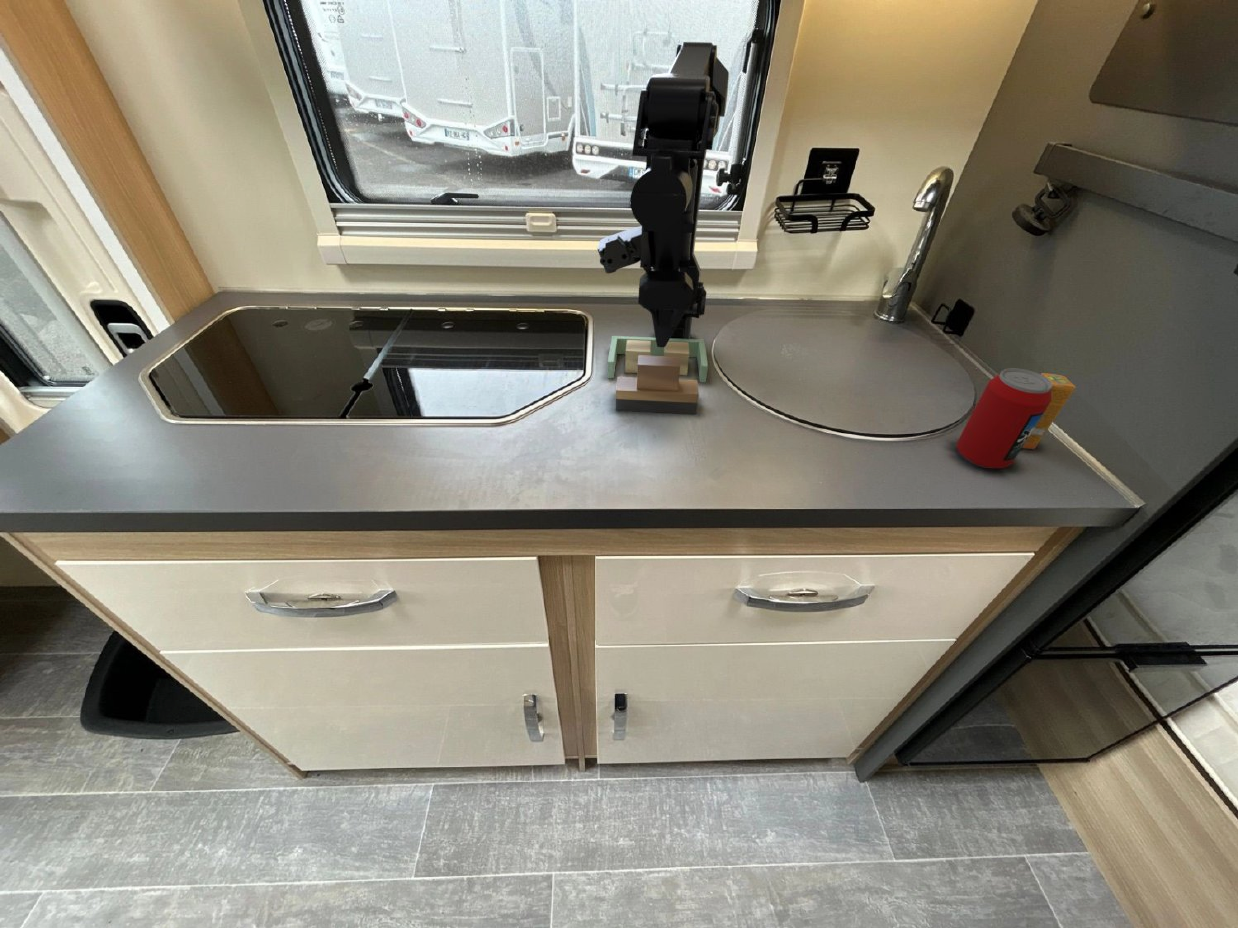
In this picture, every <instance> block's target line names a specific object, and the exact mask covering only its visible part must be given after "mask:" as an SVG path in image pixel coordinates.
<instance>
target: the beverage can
mask: <svg viewBox="0 0 1238 928" xmlns="http://www.w3.org/2000/svg"><path fill="white" fill-rule="evenodd" d="M1051 388H1052V383H1051V382H1050V381H1049V380H1048V379H1047V378H1046V377H1044V376H1042V375H1041V373H1038V372H1035V371H1032V370H1029V369H1025V368H1017V367H1016V368H1015V367H1010V368H1009V367H1008V368H1005V369H1002V370H1001V371H1000V373H999V374H997V375H995V376H994V377H992V378H991V379H990V380H989V381H988V383H987V384H986V386H985V388H984V389H983V392H982V393H981V396H980V397H979V399H978V401H977V402H976V405H975V407H974V408H973V411H972V412H971V414H970V416H969V418H968V420H967V422H966V424H965V426H964V428H963V430H962V432H961V433H960V436H959V438H958V440H957V442H956V450H957V452H958V453H960V455H961V456H962V457H963V458H964V459H965V460H966V461H968V462H969V463H971V464H973V465H975V466H978V467H980V468H986V469H1005V468H1008V467H1010V466H1011V465H1012V464H1013V463H1014V462H1015V460H1016V458H1017V456H1018V455H1019V453H1020V452H1021V450H1022V449H1023V448H1022V447H1023V445H1024V444H1025V442H1026V441H1027V439H1028V438H1029V436H1030V435H1031V433H1032V431H1033V430H1034V428H1035V427H1036V425H1037V423H1038V422H1039V420H1040V418H1041V417H1042V415H1043V414H1044V412H1045V410H1046V409H1047V407H1048V405H1049V404H1050V402H1051V400H1052V396H1051Z"/></svg>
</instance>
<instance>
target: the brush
mask: <svg viewBox="0 0 1238 928" xmlns="http://www.w3.org/2000/svg"><path fill="white" fill-rule="evenodd" d="M679 374H680V357H670V356H652V355H650V356H647V355H638V368H637V373H636V377H634V376H617V379H616V386H615V387H616V388H615V411H622V412H623V411H624V412H643V413H666V414H684V415H685V414H687V415H697V410H698V404H699V397H700V396H699V395H700V393H699V383H698V380H697V379H680V375H679Z"/></svg>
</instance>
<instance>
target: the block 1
mask: <svg viewBox="0 0 1238 928" xmlns="http://www.w3.org/2000/svg"><path fill="white" fill-rule="evenodd" d="M650 350H651V341H640V340H627V344H626V354H625V360H624V361H625V364H624V367H625V368H624V373H628V374H637V368H638V355H647V356H651V355H650Z"/></svg>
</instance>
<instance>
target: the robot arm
mask: <svg viewBox="0 0 1238 928" xmlns="http://www.w3.org/2000/svg"><path fill="white" fill-rule="evenodd" d="M675 54H676V55H675V59H674V62H673V63H672V65H671V67H670V68H669V69H668V73H657V74H654V75H653V74H652V76H650V77H649V78H648V80H647V83H646V87H645V88H644V89H641V90H640V95H639V100H638V108H637V116H636V122H635V130H634V137H633V145H632V157H643V158H646V160H645V162H646V163H645V170H644V172H643V173H642V174H641V175H640V177H639V178H638V179H637V180H636V181H635V183H634V185H633V187H632V189H631V193H630V200H629V201H630V209H631V213H632V215H633V217H634V218H635V220H636V222H637V223H638V224H639V226H636V227H632V228H628V229H625V230H623V231H620V232H617V233H614V234H611V235H608V236H606V237H603V238H601V239H600V240H599V241H598V245H597V253H598V255H599V264H600V265H601V266H603V270H604V272H605V273H606V274H609V275H610V274H614V273H616V272H617V271H618V270H620V269H623V268H627V267H630V266H632V265H635V264H637V263H640V266H639V267H640V269H643V270H644V272H645V273H643V274H642V275H641V276H640V277H639V283H638V299H637V300H638V301H637V303H638V305H639V306H640V307H641V308H642V309H646V310H647V311H648V312H649V313H650V315H651V320H652V326H653V332H654V338H656V345H657V347H665V346H666V345H667V343H668V341H669V339H670V338H674V339H693V338H692V334H691V333H692V323H693V318H696V319H700V316H704V315H705V311H706V301H707V290H706V289H705V286H704V281H701V275H702V269H701V266H700V264H699V263H698V259H697V256H696V255H695V248H696V247H695V246H696V238H697V231H698V230H697V228H698V220H699V212H700V205H701V204H700V203H701V194H702V188H703V187H702V185H703V177H704V169H705V168H704V167H705V160H706V156H707V151H713V146H714V138H716V136H717V134H718V132H719V127H720V120H721V118H724V117H725V116H726V109H727V100H728V92H729V75H730V72H729V70H728V69H727V68H726V66H724V64H723V63H722V62H721V60H720V59H719V58H718V45H717V44H713V43H712V42H710V41H709V42H707V41H705V42H703V41H702V42H701V41H683V42H682V44H677V47H676V53H675Z"/></svg>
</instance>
